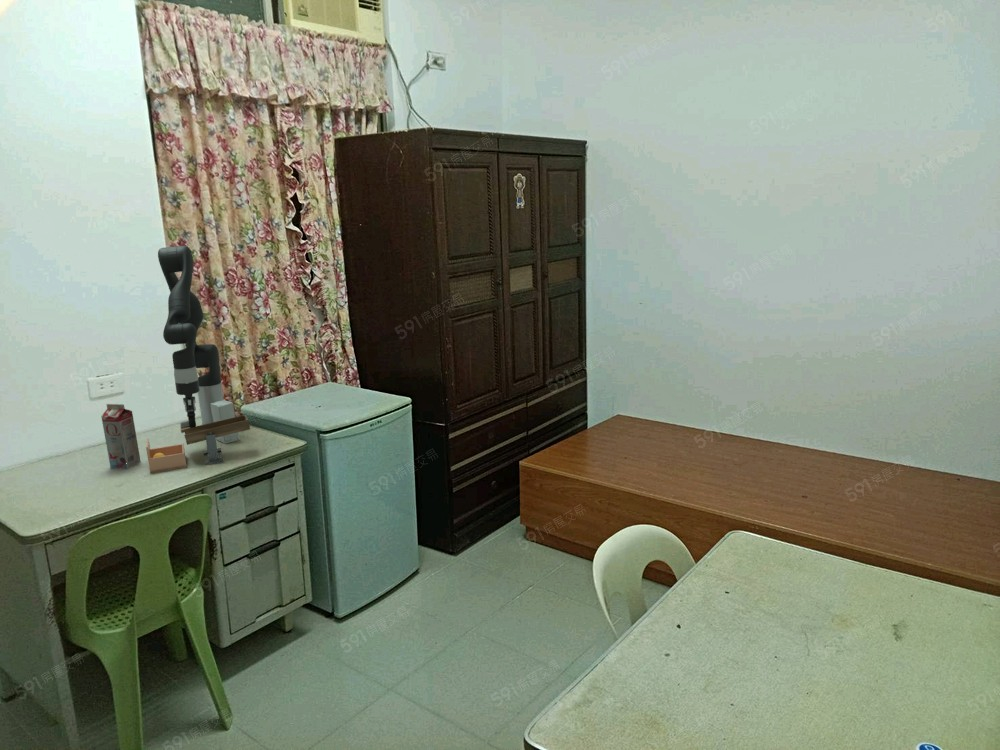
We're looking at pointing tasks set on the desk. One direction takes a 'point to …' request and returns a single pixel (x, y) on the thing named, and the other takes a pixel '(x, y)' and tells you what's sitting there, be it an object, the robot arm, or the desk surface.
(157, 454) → the ball
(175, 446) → the cup
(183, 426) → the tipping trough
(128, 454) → the juice carton
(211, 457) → the lever stand
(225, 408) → the skincare box
